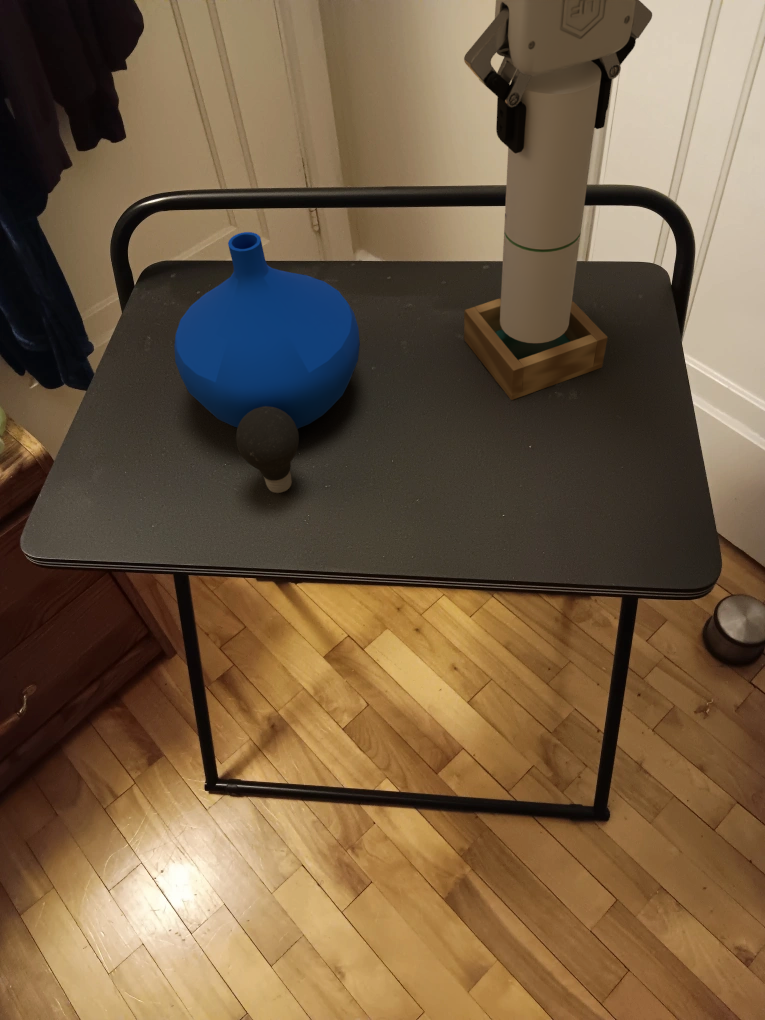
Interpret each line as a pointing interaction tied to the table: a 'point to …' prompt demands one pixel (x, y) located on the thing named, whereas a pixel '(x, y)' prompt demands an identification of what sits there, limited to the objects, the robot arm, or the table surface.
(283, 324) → the vase
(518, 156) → the cylindrical container
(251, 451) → the light bulb
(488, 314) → the square wooden tray
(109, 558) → the table surface
